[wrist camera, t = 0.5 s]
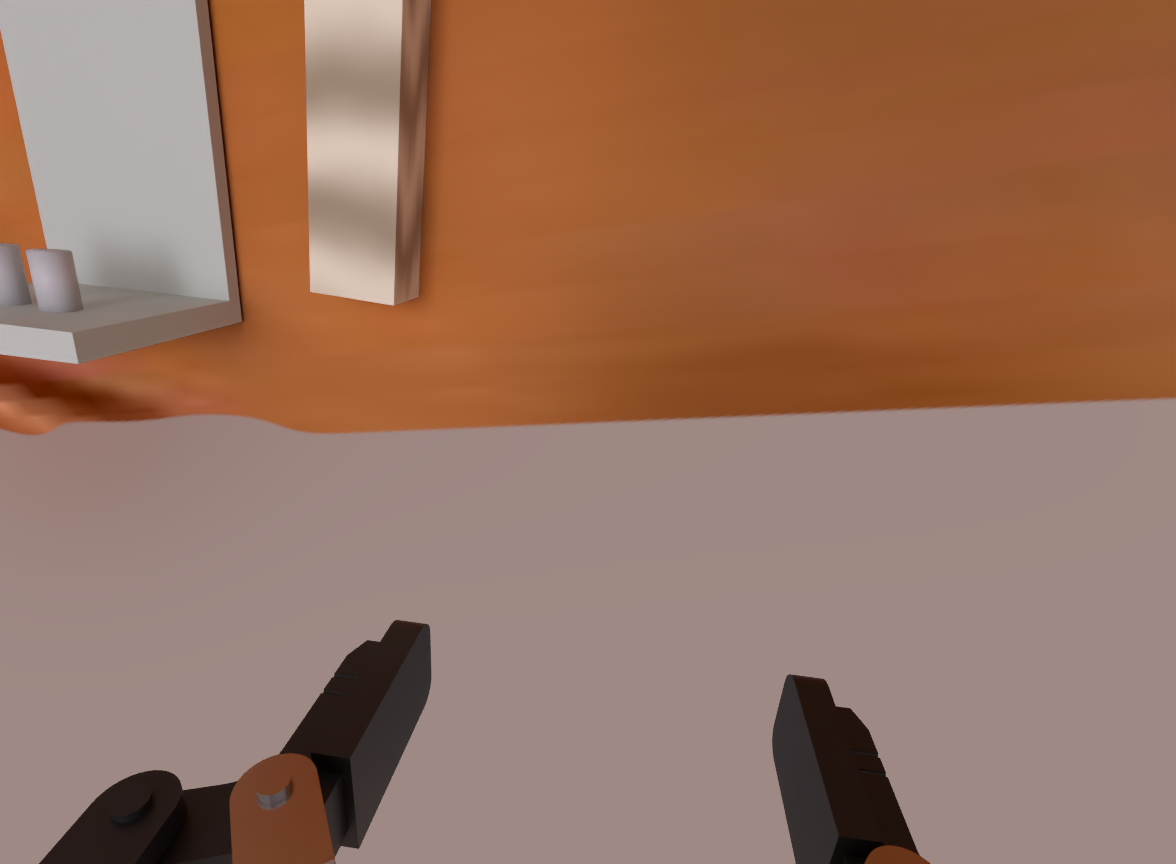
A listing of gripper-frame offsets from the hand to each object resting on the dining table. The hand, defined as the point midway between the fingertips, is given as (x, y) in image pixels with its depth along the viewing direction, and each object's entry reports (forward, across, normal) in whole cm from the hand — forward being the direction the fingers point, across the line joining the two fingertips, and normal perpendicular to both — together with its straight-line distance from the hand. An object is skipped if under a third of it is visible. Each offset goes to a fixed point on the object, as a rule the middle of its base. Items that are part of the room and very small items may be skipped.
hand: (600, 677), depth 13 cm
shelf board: (+27, +16, -14) cm, 35 cm away
